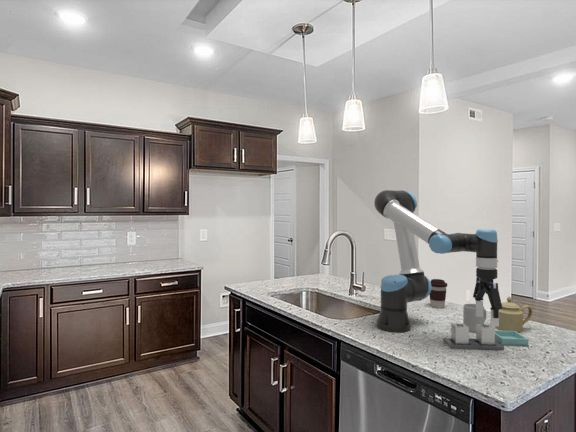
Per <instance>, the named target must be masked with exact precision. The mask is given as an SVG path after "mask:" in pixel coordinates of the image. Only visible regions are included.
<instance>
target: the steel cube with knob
mask: <svg viewBox="0 0 576 432" xmlns="http://www.w3.org/2000/svg"><path fill="white" fill-rule="evenodd" d="M495 330H496V327H495V326H491V323H490V324H489V323H487V324H486V323H484V324H477V327H476V333H475V335H476V337H475V339H476V342H477V343H478V344H480V345H486V346H495Z"/></svg>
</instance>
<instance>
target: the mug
mask: <svg viewBox="0 0 576 432" xmlns="http://www.w3.org/2000/svg"><path fill="white" fill-rule="evenodd" d="M462 320H463V323H462V324H465V325H466V326H468V327H469V333H473V334H476V327H477V324H485V322H486V321H487V309H485V306H484V305H483V317H476V303H464V304H463V319H462Z"/></svg>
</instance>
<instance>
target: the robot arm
mask: <svg viewBox="0 0 576 432" xmlns="http://www.w3.org/2000/svg"><path fill="white" fill-rule="evenodd" d="M373 203H374V207H375V210H376V211H377V212H378V213H379V214H380V215H381V216H383V217H384V218H385V219H389V220H390V221H391V222H393V225H394V233H395V238H396V245H397V250H398V256H399V263H400V268H401V271H400V272H399V273H398V274H390V275H385V276H384V277H382V278H381V281H380V310H379V314H378V316H377V319H376V327H377V328H379V329H380V330H382V331H386V332H393V333H404V332H408V331H410V330H411V329H412V327H411V325H412V324H411V321H410V317H409V314H408V305H407V304H408V303H411V302H420V301H423V300H425V299H426V298H428V297H430V295H429V294H430V292H431V282H430V281H431V280H430V279H429V278H428V276H426V275H425V271H424V270H423V269H422V268H421V267H420V262H419V256H418V249H417V244H416V237H418V238H419V239H421V240H422V241H423V242H425V243H426V244H428V246H429V248H430V250H431V251H432V252H433V253H435V254H441V255H442V254H449V253H450V254H451V253H460V252H461V253H462V252H467V253H468V252H469V253H475V255H476V257H475V267H476V270H475V273H476V274H475V276H476V279H475V281H476V282H475V286H474V289H473V294H472V298H474V301H475V304H476V317H483V306H484V296H485V294H486V296H487V297H488V301H489V303H490V308H489V310H490V325H491V326H492V327H495V326H499V310H500V309H502V304H501V303H502V300H501V296H500V290H499V283H498V282H494V280H496V279H498V263H499V259H498V242H499V241H498V231H496V230H495V229H489V228H488V229H485V228H483V229H482V228H481V229H477V230H475V231H476V232H475V233H466V232H465V233H462V232H453V233H446V232H444V231H442V230H441V229H440V228H438V227H437V226H435V225H433V224H431V223H430V222H428V221H427V220H425V219H423V218H422V217H421V216H419V215H418V214H416V213H415V212H416V208H417V207H418V202H417V199H416V197H415V195H414V194H413V193H412V192H410V191H408V190H407V191H406V190H391V189H390V190H389V189H388V190H386V189H385V190H382V191H380V192H379V193H378V194H377V195H376V196H375V197H374V202H373ZM415 236H416V237H415Z"/></svg>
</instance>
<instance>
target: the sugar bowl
mask: <svg viewBox="0 0 576 432" xmlns="http://www.w3.org/2000/svg"><path fill="white" fill-rule="evenodd" d="M501 304H502V309H500V310H499V326H494V328H495V329H497V330H498V331H501V330H502V331H516V332H519V333H523V332H524V325H525V324H527V323H528V322H529V321H530V320H531V318H532V316H533V309H532V307H531V306H530V305H528V304H524V305H522V306H521V308H520V305H518V304H516V303H514V302H512V298H511V296H509V295H508V297H507V298H506V301H503V302H501ZM526 308H527V309H528V315H527V316H526V317H525V318H524V311H525V309H526Z"/></svg>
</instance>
